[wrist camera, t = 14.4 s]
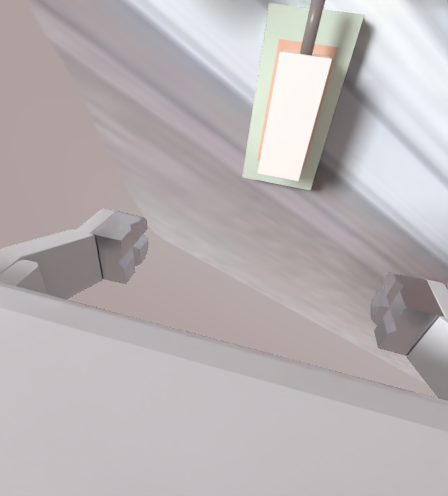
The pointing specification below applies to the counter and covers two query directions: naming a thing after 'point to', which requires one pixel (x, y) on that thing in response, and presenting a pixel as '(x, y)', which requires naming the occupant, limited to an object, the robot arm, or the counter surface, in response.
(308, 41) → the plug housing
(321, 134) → the green peg board
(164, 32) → the counter surface
